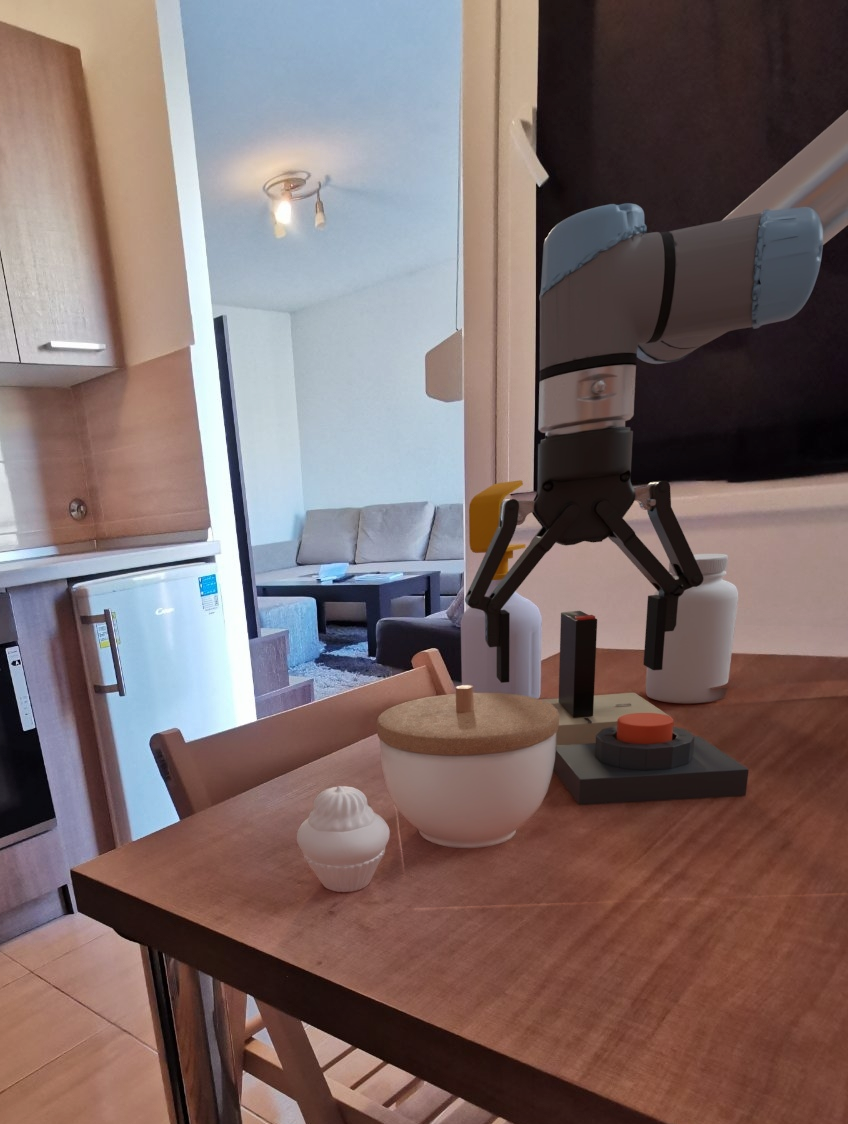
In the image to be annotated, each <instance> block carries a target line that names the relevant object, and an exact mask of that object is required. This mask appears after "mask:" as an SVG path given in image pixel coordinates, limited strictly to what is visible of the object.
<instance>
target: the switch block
mask: <svg viewBox="0 0 848 1124" xmlns="http://www.w3.org/2000/svg"><path fill="white" fill-rule="evenodd" d="M616 738H617V726H613V727H609V728H605V729H602V730H601V731H600V732H599V733H598V734H597V735H596V743H589V744H574V745H559V746H556V753H555V762H554V768H553V773H555V775H556V777H558V779H559V780H560V781H561V783H562V784H563V786H564V787H565V788H566V790H567V791H568V792H569V794H570V795H571V797H573V799H574V800H575V802H576V803H577V805H579V806H585V805H587V806H588V805H603V804H604V805H606V804H623V803H640V802H641V803H642V802H657V801H677V800H696V799H713V798H730V797H732V798H733V797H746V795H747V787H748V778H749V771H750V770H749V768H748V767H746V766H745V765H744V764H742V763H740V762H739V761H737V760H736V759H734V758H733V757H731V756H730V755H728V754H727V753H725V752H724V751H722V750H720V749H719V748H717V747H716V746H715V745H713V744H712V743H710V742H709V741H707V740H706V739H704V738H703V737H701V736H700V735H695V734H693V733H692V732H691V731H689V730H687V729H685V728H682V727H677V726H673V734H672V741H668V742H664V743H653V744H638V743H627V742H623V741H620V740H617V739H616Z"/></svg>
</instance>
